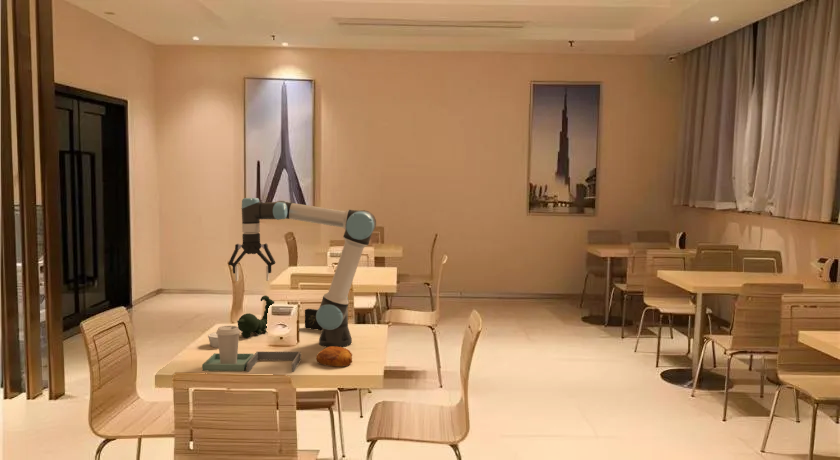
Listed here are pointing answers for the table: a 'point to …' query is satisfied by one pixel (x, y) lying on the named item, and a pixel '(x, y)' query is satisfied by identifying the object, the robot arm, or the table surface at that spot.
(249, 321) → the toy figurine
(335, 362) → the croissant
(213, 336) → the ramekin
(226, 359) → the coffee cup
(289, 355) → the dock
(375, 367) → the table surface
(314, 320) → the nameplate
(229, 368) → the tray
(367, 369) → the table surface
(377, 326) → the table surface
